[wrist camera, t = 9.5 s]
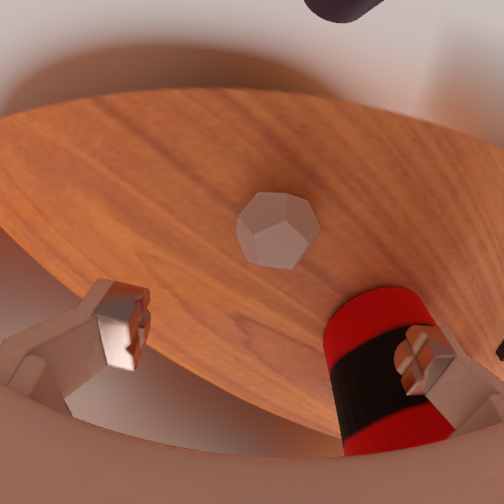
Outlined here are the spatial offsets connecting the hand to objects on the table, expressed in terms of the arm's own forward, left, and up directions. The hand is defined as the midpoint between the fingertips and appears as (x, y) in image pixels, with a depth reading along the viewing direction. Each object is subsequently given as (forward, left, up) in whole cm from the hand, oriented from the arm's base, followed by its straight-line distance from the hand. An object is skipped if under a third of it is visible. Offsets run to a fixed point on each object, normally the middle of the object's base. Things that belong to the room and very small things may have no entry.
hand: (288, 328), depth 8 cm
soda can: (+6, +9, -8) cm, 13 cm away
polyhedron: (0, 0, -8) cm, 8 cm away
